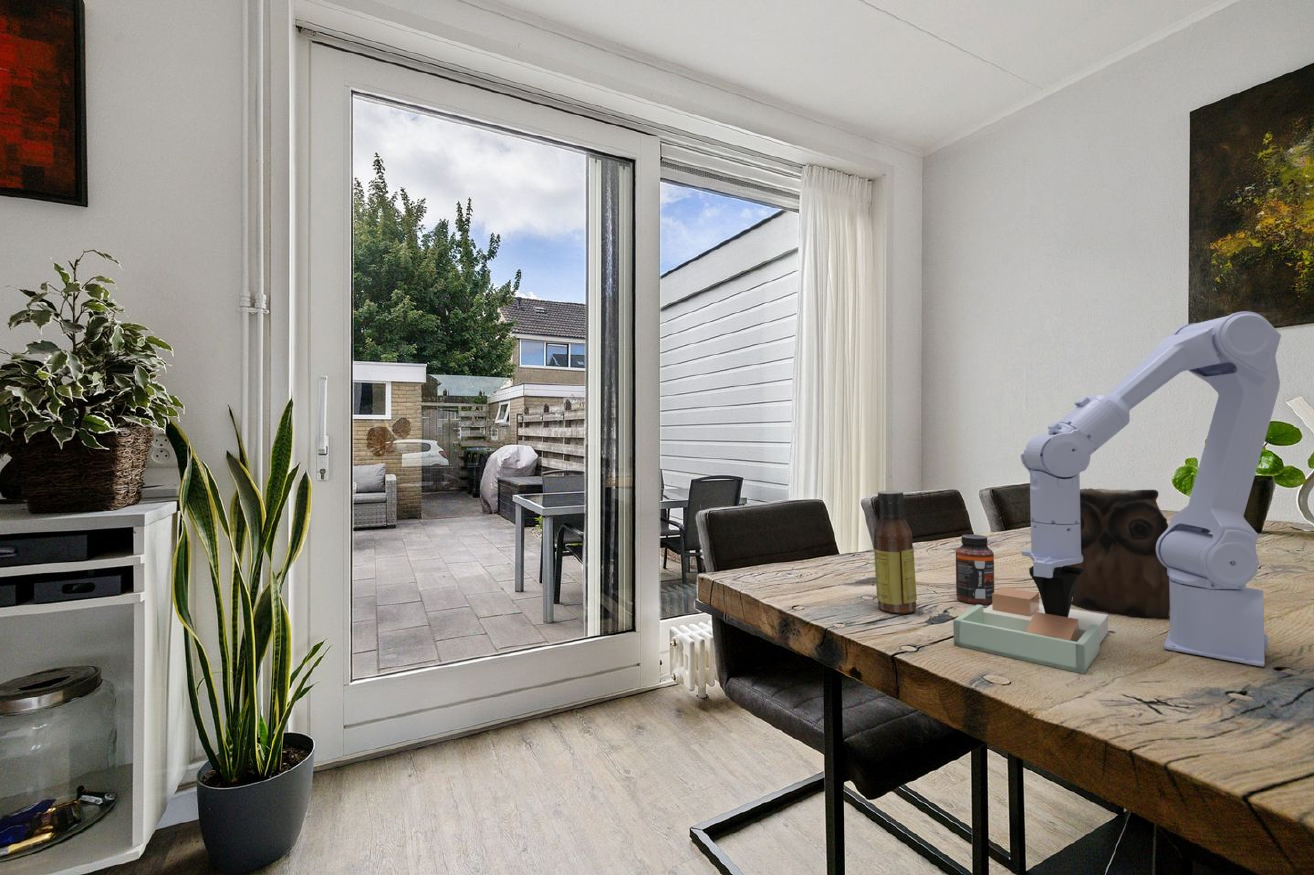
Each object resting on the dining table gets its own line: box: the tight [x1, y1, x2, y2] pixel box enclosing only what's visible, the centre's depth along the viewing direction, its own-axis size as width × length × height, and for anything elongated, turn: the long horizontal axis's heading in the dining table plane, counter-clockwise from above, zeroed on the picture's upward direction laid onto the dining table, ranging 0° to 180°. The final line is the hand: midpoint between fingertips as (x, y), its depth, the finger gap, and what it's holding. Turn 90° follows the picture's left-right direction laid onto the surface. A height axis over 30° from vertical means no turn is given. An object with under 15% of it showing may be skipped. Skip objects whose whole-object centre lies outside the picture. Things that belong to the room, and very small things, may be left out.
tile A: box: [1025, 612, 1080, 642], centre depth 80 cm, size 5×5×2 cm
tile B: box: [991, 586, 1040, 616], centre depth 91 cm, size 5×5×2 cm
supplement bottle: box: [955, 534, 995, 605], centre depth 105 cm, size 6×6×11 cm
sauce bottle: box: [873, 490, 918, 615], centre depth 101 cm, size 6×6×20 cm
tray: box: [952, 604, 1100, 675], centre depth 82 cm, size 15×10×4 cm, turn 45°
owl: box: [1068, 487, 1170, 620], centre depth 98 cm, size 13×13×20 cm
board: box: [983, 603, 1109, 645], centre depth 89 cm, size 14×10×2 cm
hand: (1056, 620), depth 82 cm, fingers closed
